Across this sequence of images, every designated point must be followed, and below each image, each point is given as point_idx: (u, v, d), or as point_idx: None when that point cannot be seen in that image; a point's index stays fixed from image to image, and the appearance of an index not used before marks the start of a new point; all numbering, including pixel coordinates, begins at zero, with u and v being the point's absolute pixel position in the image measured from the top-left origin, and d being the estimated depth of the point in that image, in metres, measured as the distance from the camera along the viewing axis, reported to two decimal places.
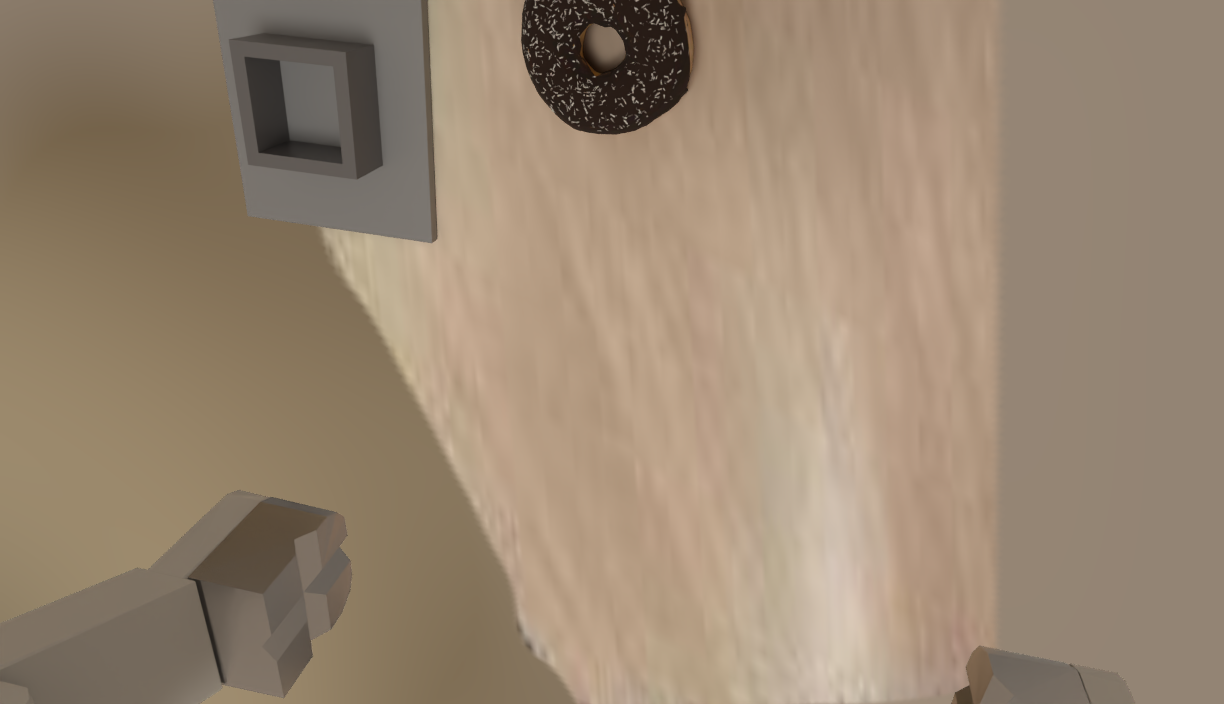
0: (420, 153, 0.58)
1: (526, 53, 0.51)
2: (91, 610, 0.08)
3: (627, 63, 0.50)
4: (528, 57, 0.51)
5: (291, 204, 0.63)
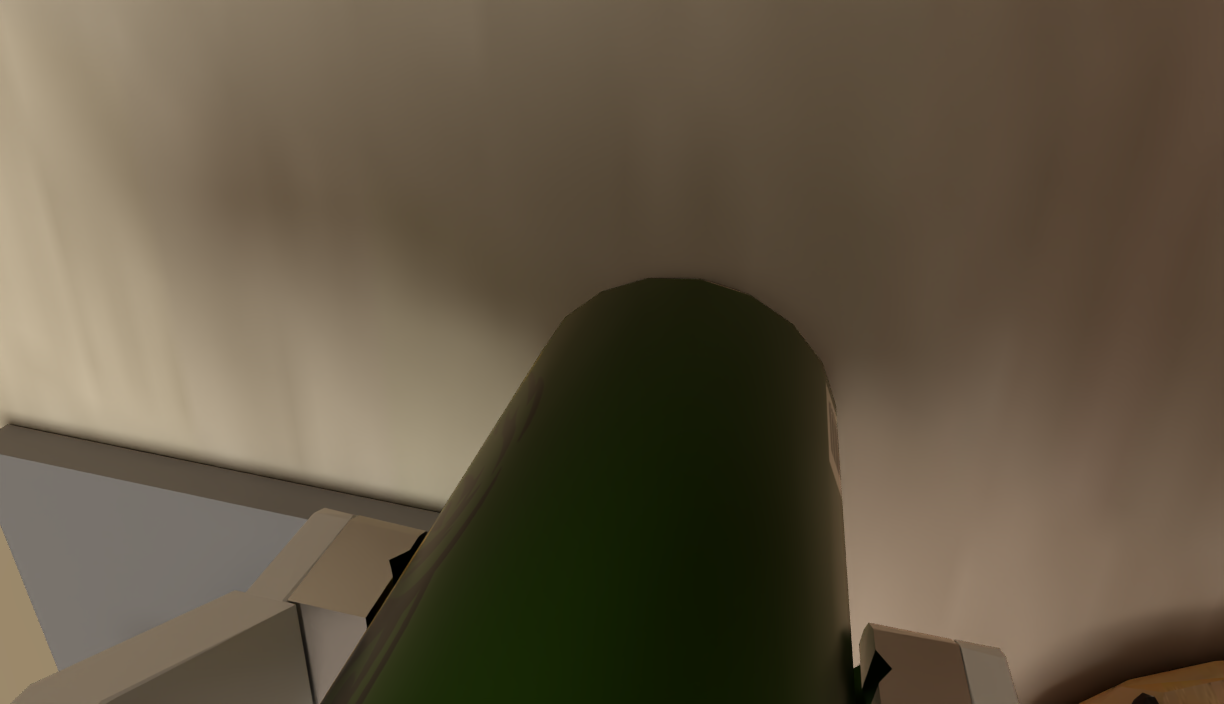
0: None
1: None
2: (196, 635, 0.08)
3: None
4: None
5: None
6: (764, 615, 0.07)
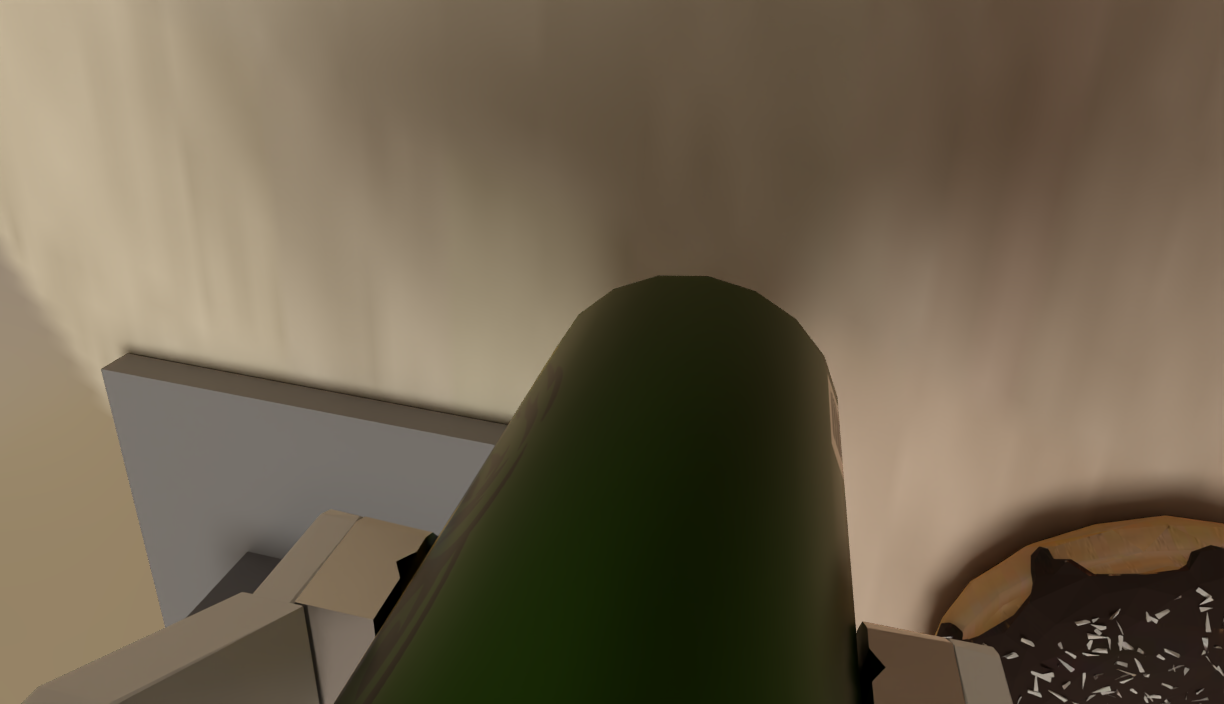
0: None
1: None
2: (203, 637, 0.08)
3: None
4: None
5: None
6: (773, 570, 0.08)
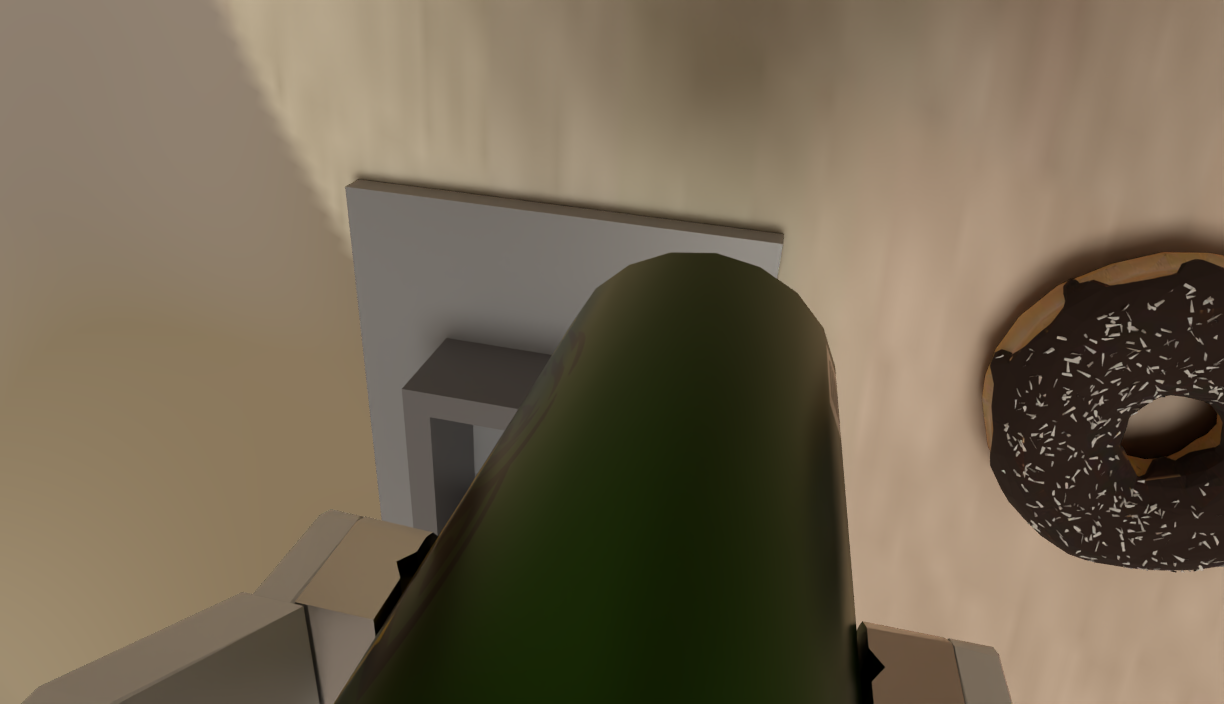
0: None
1: (1012, 441, 0.26)
2: (204, 637, 0.08)
3: None
4: (1016, 448, 0.26)
5: None
6: (779, 496, 0.09)
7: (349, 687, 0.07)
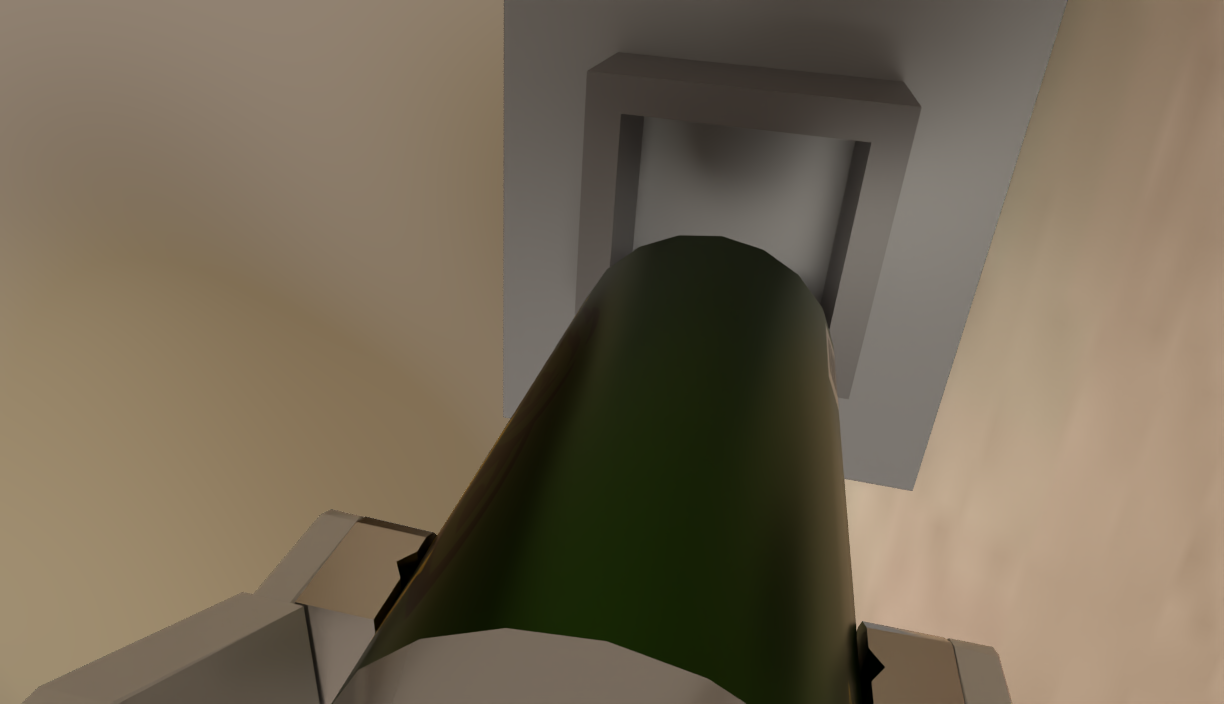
0: (946, 320, 0.26)
1: None
2: (204, 637, 0.08)
3: None
4: None
5: None
6: (782, 452, 0.10)
7: (396, 609, 0.08)
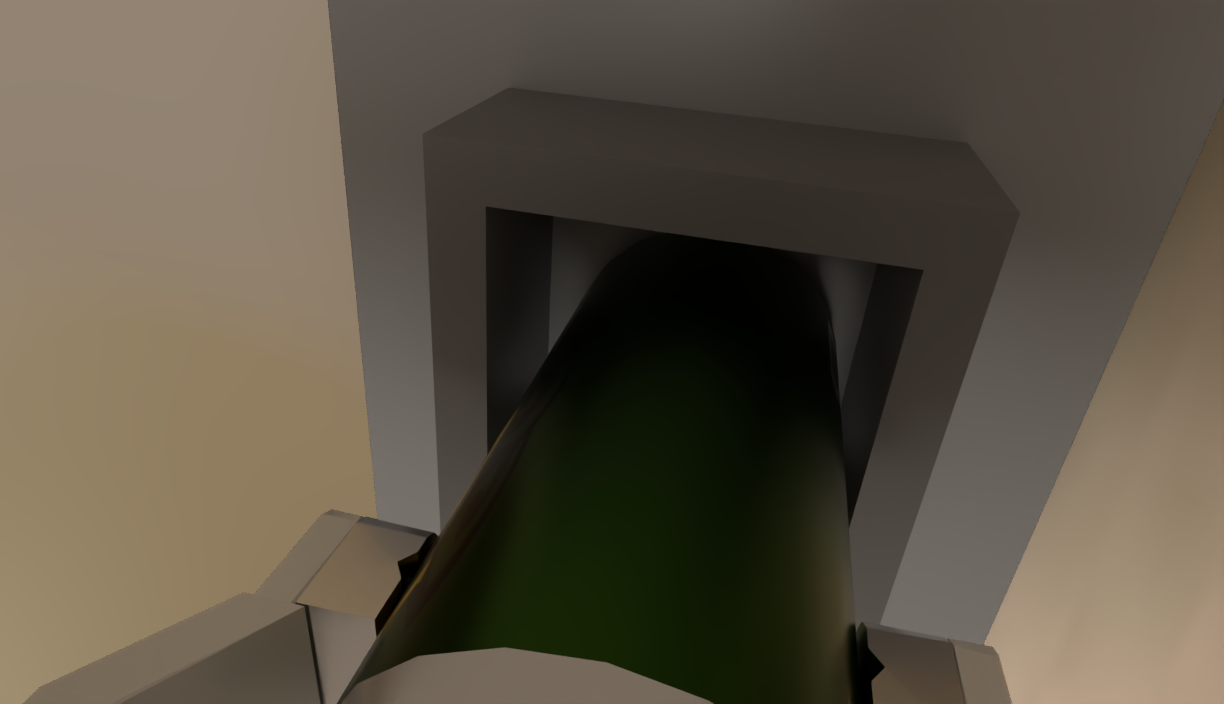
0: (1018, 495, 0.17)
1: None
2: (205, 638, 0.08)
3: None
4: None
5: None
6: (784, 457, 0.09)
7: (395, 620, 0.08)
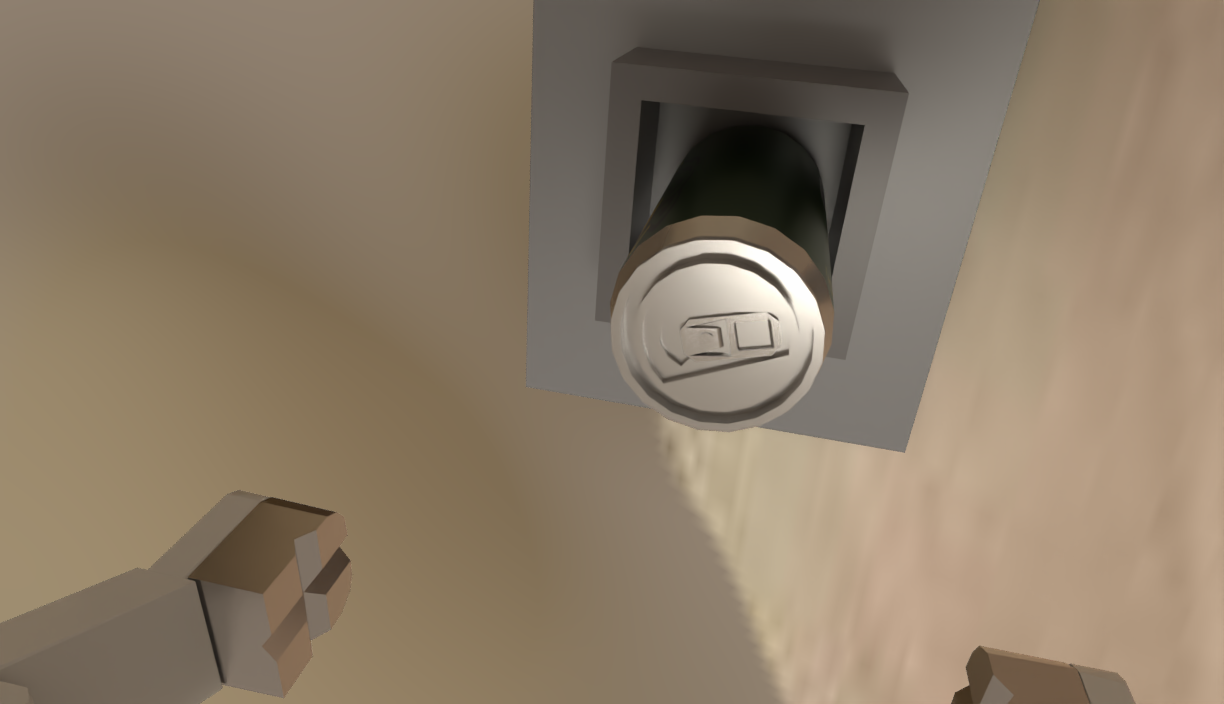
0: (934, 292, 0.29)
1: None
2: (91, 610, 0.08)
3: None
4: None
5: None
6: (798, 196, 0.21)
7: (644, 235, 0.19)
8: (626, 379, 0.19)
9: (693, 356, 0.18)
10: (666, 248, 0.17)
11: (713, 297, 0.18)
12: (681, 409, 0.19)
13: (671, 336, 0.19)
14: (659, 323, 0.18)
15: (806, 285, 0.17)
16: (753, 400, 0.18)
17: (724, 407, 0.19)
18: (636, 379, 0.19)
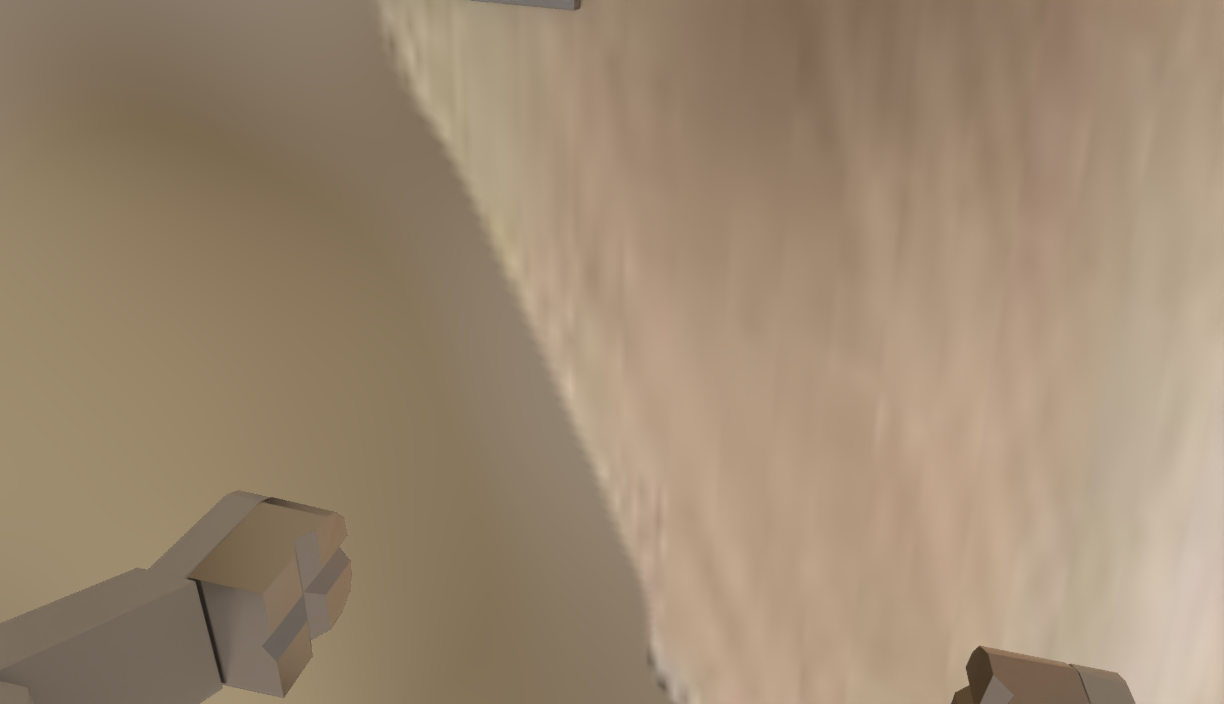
0: None
1: None
2: (91, 610, 0.08)
3: None
4: None
5: None
6: None
7: None
8: None
9: None
10: None
11: None
12: None
13: None
14: None
15: None
16: None
17: None
18: None
